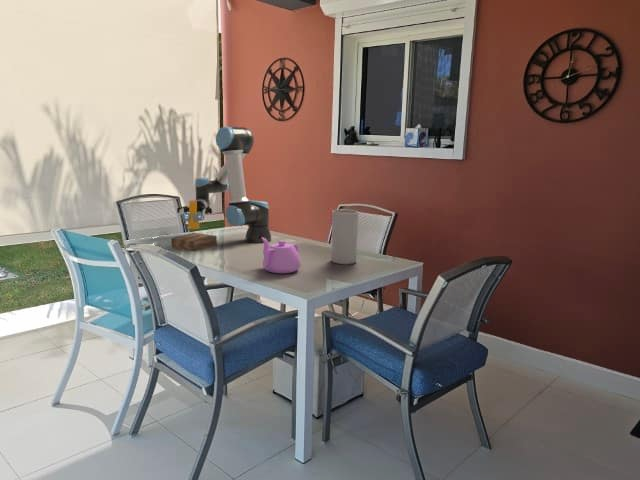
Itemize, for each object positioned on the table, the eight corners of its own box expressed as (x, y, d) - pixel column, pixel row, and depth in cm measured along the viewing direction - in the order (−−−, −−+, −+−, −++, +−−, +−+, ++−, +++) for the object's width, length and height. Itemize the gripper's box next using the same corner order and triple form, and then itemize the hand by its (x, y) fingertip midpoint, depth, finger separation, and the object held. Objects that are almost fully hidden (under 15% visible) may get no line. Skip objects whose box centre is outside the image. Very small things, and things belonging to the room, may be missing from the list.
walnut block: (216, 244, 272) (216, 235, 271) (194, 250, 257) (194, 241, 256) (194, 241, 279) (194, 232, 278) (171, 247, 264) (171, 238, 263)
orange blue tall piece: (207, 227, 271) (207, 200, 267) (201, 230, 261) (200, 202, 257) (186, 226, 272) (185, 199, 269) (179, 229, 262) (178, 201, 258)
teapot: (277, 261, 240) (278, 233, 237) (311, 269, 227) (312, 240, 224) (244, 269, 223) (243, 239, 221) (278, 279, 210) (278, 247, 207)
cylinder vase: (360, 260, 244) (362, 211, 239) (349, 266, 233) (351, 214, 228) (338, 257, 250) (340, 208, 245) (326, 262, 240) (327, 211, 234)
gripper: (220, 213, 283) (214, 220, 262) (178, 212, 282) (169, 219, 261) (220, 200, 282) (214, 206, 260) (178, 199, 280) (168, 205, 259)
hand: (191, 213), depth 260 cm, fingers closed on orange blue tall piece, 11 cm apart
